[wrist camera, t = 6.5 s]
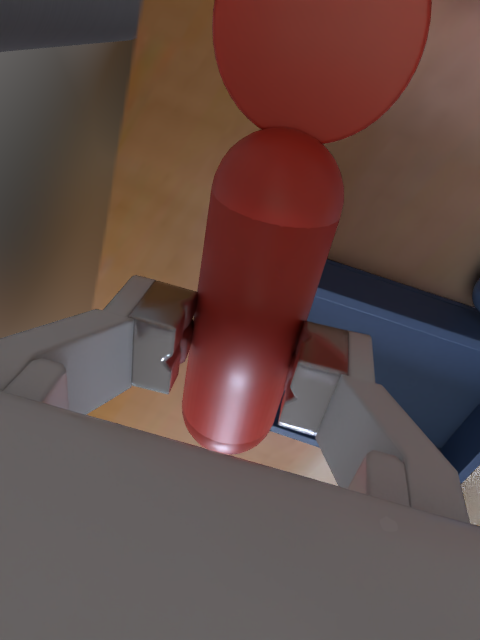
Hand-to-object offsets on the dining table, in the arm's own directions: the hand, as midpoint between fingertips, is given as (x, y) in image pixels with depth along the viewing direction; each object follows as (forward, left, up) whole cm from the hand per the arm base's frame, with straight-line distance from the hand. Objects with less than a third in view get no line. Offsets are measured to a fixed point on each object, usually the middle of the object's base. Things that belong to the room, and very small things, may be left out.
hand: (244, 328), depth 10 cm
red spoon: (0, +2, -2) cm, 3 cm away
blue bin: (+9, -10, -15) cm, 20 cm away
